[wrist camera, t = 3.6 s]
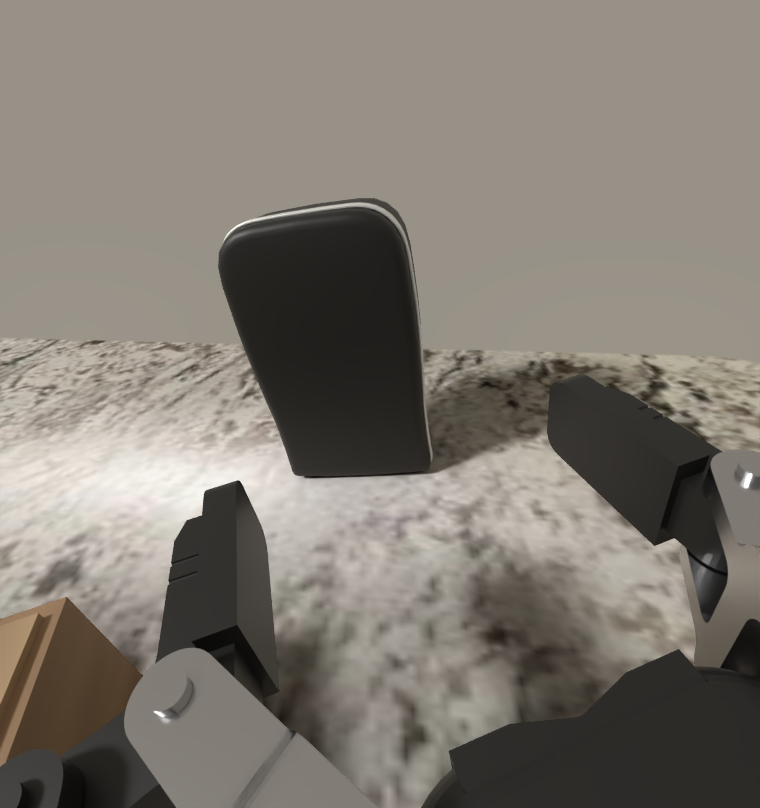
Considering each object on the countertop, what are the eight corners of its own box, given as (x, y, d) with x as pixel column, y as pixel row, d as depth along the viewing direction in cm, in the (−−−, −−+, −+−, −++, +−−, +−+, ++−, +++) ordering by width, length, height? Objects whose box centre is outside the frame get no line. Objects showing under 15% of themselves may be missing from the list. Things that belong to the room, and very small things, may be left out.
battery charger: (436, 425, 22) (409, 181, 16) (436, 476, 19) (402, 198, 13) (308, 432, 24) (237, 209, 17) (289, 482, 20) (193, 231, 14)
